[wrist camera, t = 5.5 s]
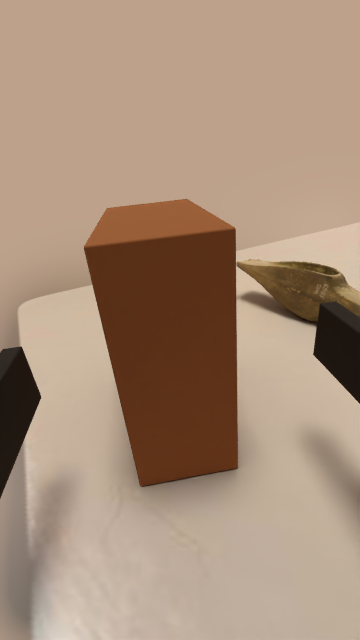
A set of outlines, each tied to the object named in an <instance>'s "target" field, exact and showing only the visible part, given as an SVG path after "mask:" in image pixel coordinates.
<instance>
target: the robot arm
mask: <svg viewBox="0 0 360 640" xmlns="http://www.w3.org/2000/svg"><path fill="white" fill-rule="evenodd" d="M313 355H314V356H315V357H316V358H317V359H318V360H319V361H320V362H321V363H322V364H323V365H324V366H325V367H326V368H327V370H328V371H329V372H330V373H331V374H332V375H333V376H334V377H335V378H336V379H337V380H338V381H339V382H340V383H341V384H342V385H343V386H344V388H345V389H346V390H347V391H348V392H349V393H350V394H351V395H352V396H353V397H354V398H355V399H356V400H357V401H358V402H359V403H360V317H358V316H357V315H356V314H354V313H353V312H351V311H350V310H348V309H347V308H345V307H344V306H342V305H341V304H339V303H338V302H336V301H335V302H328V303H321V304H320V306H319V314H318V322H317V330H316V338H315V345H314V353H313ZM40 399H41V395H40V392H39V390H38V387H37V385H36V382H35V380H34V377H33V374H32V372H31V369H30V367H29V364H28V362H27V359H26V356H25V354H24V351H23V349H22V347H16V348H8V349H3V350H2V351H1V353H0V498H1V495H2V493H3V490H4V488H5V485H6V483H7V480H8V478H9V475H10V473H11V470H12V468H13V466H14V463H15V461H16V458H17V456H18V453H19V451H20V448H21V446H22V443H23V441H24V439H25V436H26V434H27V431H28V429H29V426H30V424H31V421H32V419H33V416H34V414H35V411H36V409H37V407H38V404H39V402H40Z"/></svg>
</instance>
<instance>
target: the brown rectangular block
mask: <svg viewBox="0 0 360 640" xmlns="http://www.w3.org/2000/svg"><path fill="white" fill-rule="evenodd" d="M235 230H236V229H235V228H234V227H233V226H231V225H230V224H228V223H226V222H225V221H223V220H221V219H220V218H218V217H216V216H215V215H213V214H211V213H209V212H208V211H206V210H204V209H203V208H201V207H199V206H198V205H196V204H194V203H193V202H191V201H189V200H188V199H182V200H174V201H166V202H156V203H148V204H139V205H131V206H122V207H113V208H107V209H106V211H105V213H104V214H103V216H102V217H101V219H100V221H99V222H98V224H97V226H96V227H95V229H94V231H93V233H92V234H91V236H90V238H89V239H88V241H87V243H86V244H85V246H84V251H85V255H86V259H87V263H88V268H89V272H90V275H91V280H92V284H93V289H94V293H95V297H96V301H97V305H98V310H99V314H100V318H101V322H102V327H103V331H104V335H105V339H106V343H107V348H108V352H109V356H110V360H111V364H112V369H113V373H114V377H115V381H116V385H117V390H118V394H119V398H120V402H121V406H122V411H123V415H124V419H125V423H126V427H127V432H128V436H129V440H130V444H131V449H132V453H133V457H134V461H135V465H136V470H137V474H138V478H139V482H140V485H141V486H145V485H150V484H155V483H161V482H166V481H171V480H177V479H182V478H187V477H192V476H198V475H203V474H208V473H213V472H219V471H224V470H229V469H234V468H237V467H238V432H237V331H236V231H235Z"/></svg>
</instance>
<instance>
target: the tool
mask: <svg viewBox="0 0 360 640" xmlns="http://www.w3.org/2000/svg"><path fill="white" fill-rule="evenodd" d="M237 266H238V267H239V268H240V269H241V270H243V271H244V272H246V273H247V274H249V275H250V276H251V277H252V278H254V279H255V280H256V281H257V282H258V283H260V284H261V285H262V286H263V287H264V288H265V289H266V290H267V291H268V292H269V293H270V295H272V296H273V297H274V298H275V299H276V300H277V301H278V302H279V303H281V304H282V305H283V306H284V307H286V308H287V309H289V310H290V311H292V312H293V313H295V314H297V315H298V316H300V317H301V318H304V319H306V320H309V321H313V322H318V314H319V306H320V304H321V303H328V302H335V301H336V302H338V303H339V304H341V305H342V306H344V307H345V308H347V309H348V310H350V311H351V312H353V313H354V314H356V315H357V316H358V317H360V292H359V291H357V290H355V289H354V288H352V287H351V286H349V285H348V283H347V282H346V280H345V277H344V276H343V274H342V273H341V272H340V271H338V270H337V269H334V268H331V267H328V266H325V265H320V264H315V263H308V262H295V261H293V262H267V261H261V260H248V261H242V262H237Z"/></svg>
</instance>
